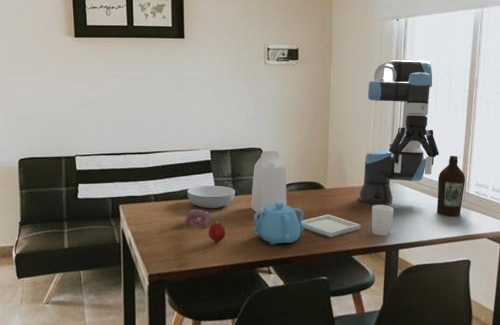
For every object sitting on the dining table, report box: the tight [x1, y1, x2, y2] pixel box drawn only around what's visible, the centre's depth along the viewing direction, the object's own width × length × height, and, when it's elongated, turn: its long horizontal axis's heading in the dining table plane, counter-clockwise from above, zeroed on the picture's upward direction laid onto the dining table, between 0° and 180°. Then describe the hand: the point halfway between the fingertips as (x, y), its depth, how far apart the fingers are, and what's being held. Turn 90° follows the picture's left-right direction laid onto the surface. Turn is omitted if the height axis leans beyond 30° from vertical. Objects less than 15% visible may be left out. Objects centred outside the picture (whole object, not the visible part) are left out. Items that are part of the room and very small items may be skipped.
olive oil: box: [436, 155, 466, 217], centre depth 232 cm, size 11×11×25 cm
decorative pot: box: [252, 202, 305, 245], centre depth 194 cm, size 16×16×14 cm
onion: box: [208, 220, 226, 244], centre depth 190 cm, size 6×6×8 cm
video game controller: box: [183, 209, 212, 229], centre depth 210 cm, size 10×5×7 cm, turn 71°
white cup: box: [371, 204, 395, 237], centre depth 204 cm, size 8×8×10 cm
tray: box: [300, 213, 362, 238], centre depth 210 cm, size 17×17×2 cm
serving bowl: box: [186, 185, 236, 209], centre depth 238 cm, size 21×21×7 cm
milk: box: [250, 149, 287, 216], centre depth 230 cm, size 12×12×26 cm
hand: (412, 173), depth 199 cm, fingers open, 13 cm apart
